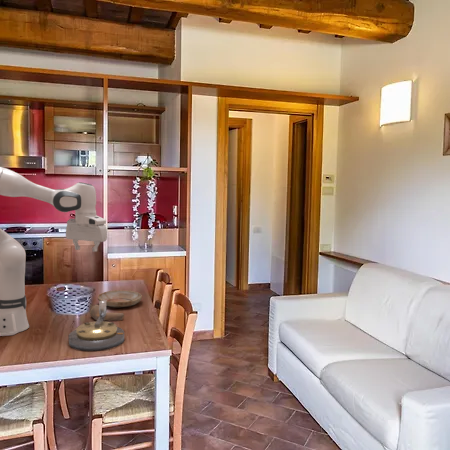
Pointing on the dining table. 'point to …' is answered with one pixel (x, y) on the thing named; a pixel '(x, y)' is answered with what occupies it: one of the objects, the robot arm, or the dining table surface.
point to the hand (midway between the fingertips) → (86, 250)
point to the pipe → (109, 316)
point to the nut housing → (96, 342)
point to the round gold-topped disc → (97, 327)
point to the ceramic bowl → (120, 298)
